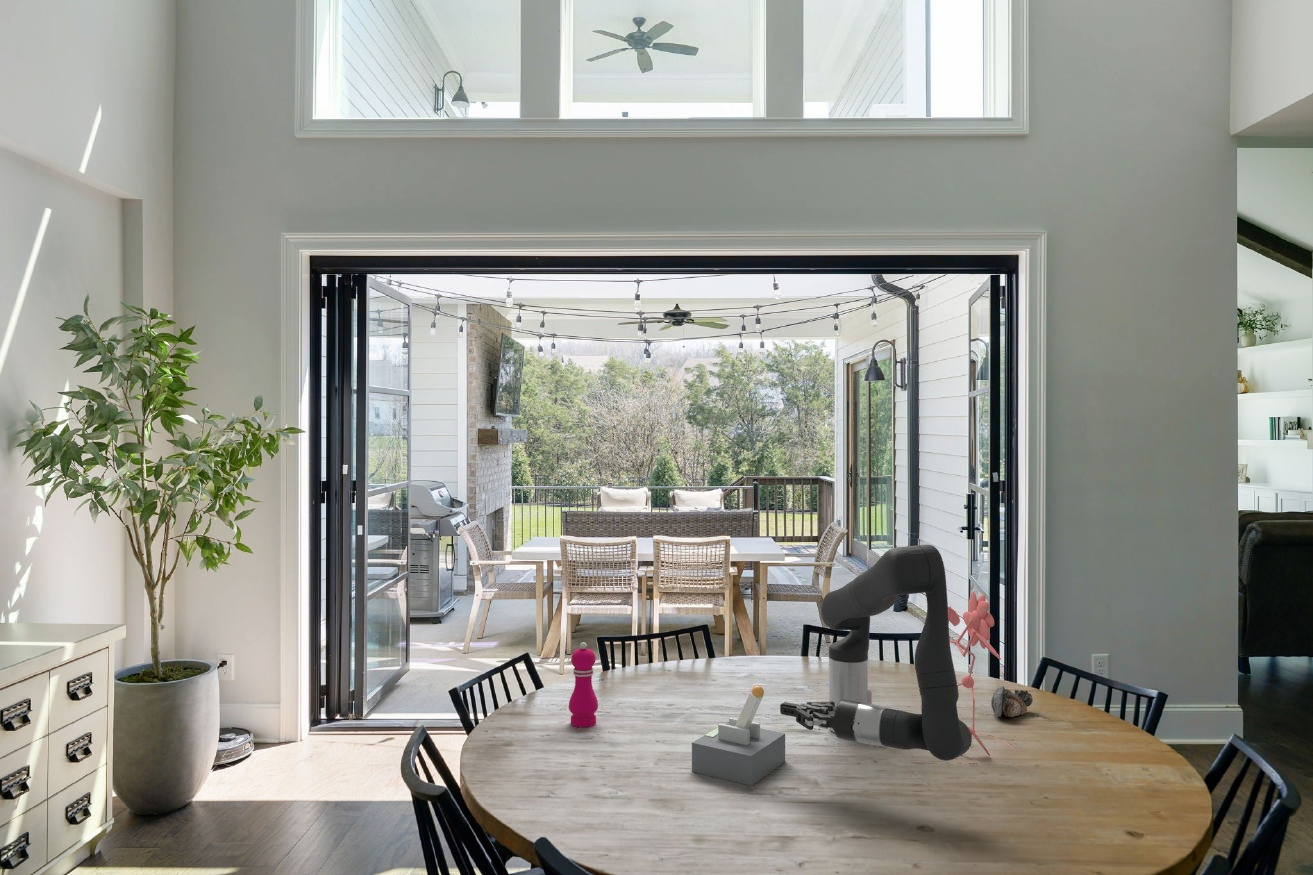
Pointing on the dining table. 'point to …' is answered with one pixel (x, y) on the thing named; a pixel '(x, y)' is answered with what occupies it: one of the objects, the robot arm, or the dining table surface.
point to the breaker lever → (750, 707)
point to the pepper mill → (583, 688)
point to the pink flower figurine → (974, 640)
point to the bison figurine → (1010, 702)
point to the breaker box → (738, 752)
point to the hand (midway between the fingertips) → (781, 707)
